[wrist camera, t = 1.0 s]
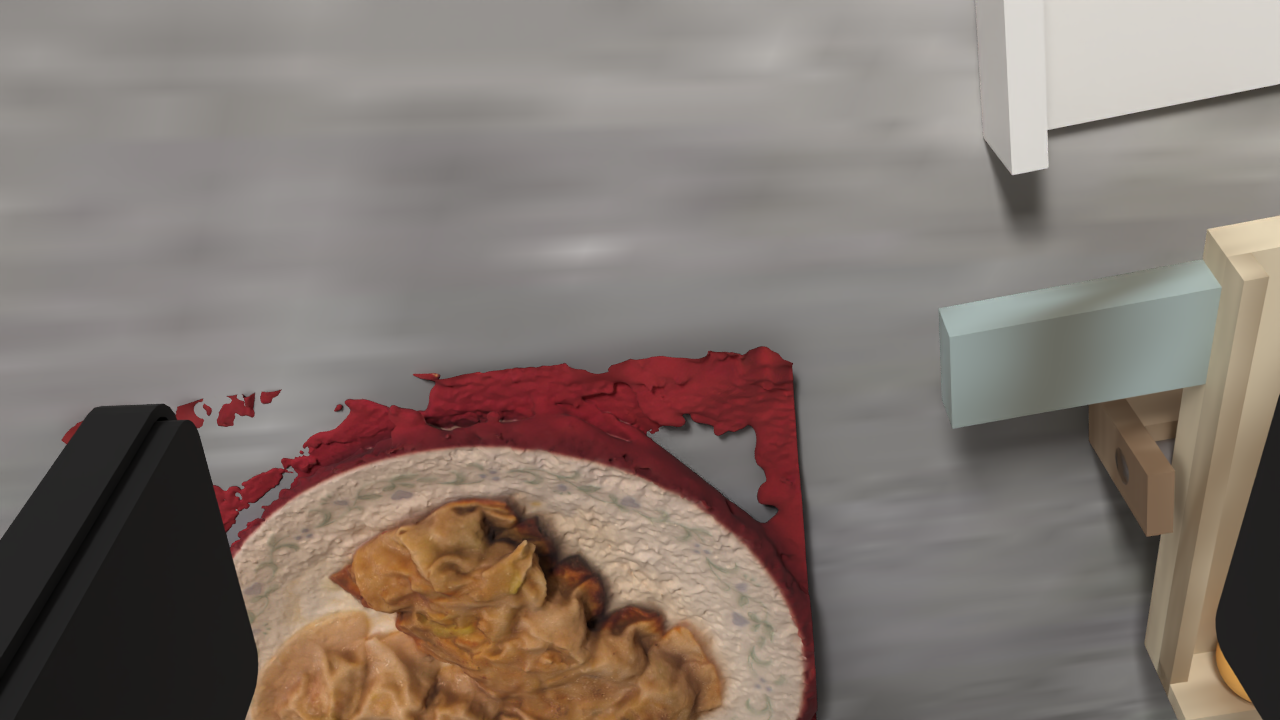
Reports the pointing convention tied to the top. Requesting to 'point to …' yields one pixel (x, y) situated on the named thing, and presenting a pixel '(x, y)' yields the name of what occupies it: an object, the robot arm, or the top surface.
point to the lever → (1138, 365)
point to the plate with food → (532, 553)
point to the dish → (1111, 62)
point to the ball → (1229, 675)
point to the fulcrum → (1140, 453)
